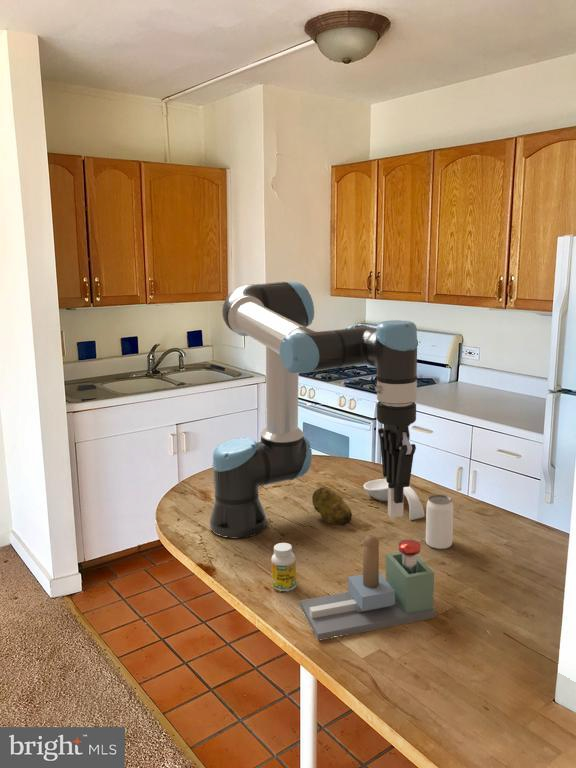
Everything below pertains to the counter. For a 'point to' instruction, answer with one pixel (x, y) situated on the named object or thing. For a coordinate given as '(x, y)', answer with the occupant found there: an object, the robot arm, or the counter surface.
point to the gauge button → (409, 554)
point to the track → (343, 618)
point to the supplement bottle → (283, 567)
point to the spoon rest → (380, 492)
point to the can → (439, 522)
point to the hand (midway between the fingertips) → (395, 515)
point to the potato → (331, 506)
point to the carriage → (371, 581)
